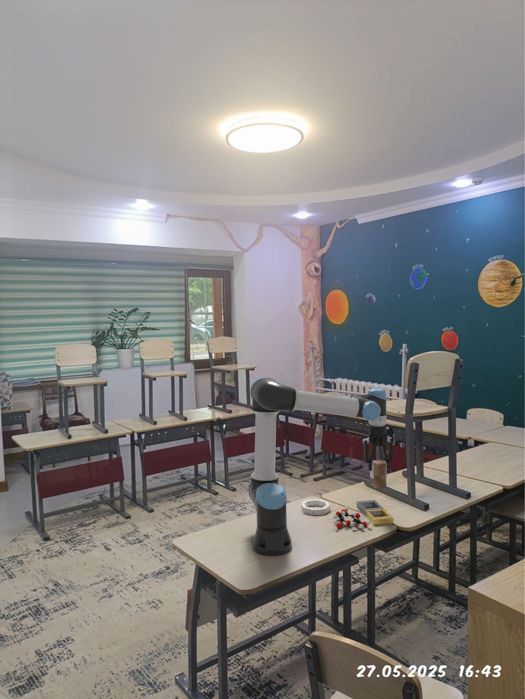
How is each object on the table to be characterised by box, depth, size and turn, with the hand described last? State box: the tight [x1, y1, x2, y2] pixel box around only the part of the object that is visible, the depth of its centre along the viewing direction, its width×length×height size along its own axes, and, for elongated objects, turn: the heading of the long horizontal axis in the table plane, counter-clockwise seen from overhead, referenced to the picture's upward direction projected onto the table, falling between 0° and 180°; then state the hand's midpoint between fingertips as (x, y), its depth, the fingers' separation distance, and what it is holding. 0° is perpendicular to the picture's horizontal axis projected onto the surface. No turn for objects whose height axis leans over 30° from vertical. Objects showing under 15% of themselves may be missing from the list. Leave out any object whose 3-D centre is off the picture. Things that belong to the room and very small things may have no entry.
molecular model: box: [332, 506, 371, 530], centre depth 210 cm, size 10×12×15 cm
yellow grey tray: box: [356, 499, 395, 526], centre depth 219 cm, size 9×21×3 cm, turn 9°
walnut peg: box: [370, 459, 387, 490], centre depth 213 cm, size 5×5×11 cm
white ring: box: [300, 498, 331, 516], centre depth 227 cm, size 12×12×2 cm
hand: (378, 477), depth 213 cm, fingers closed on walnut peg, 5 cm apart
